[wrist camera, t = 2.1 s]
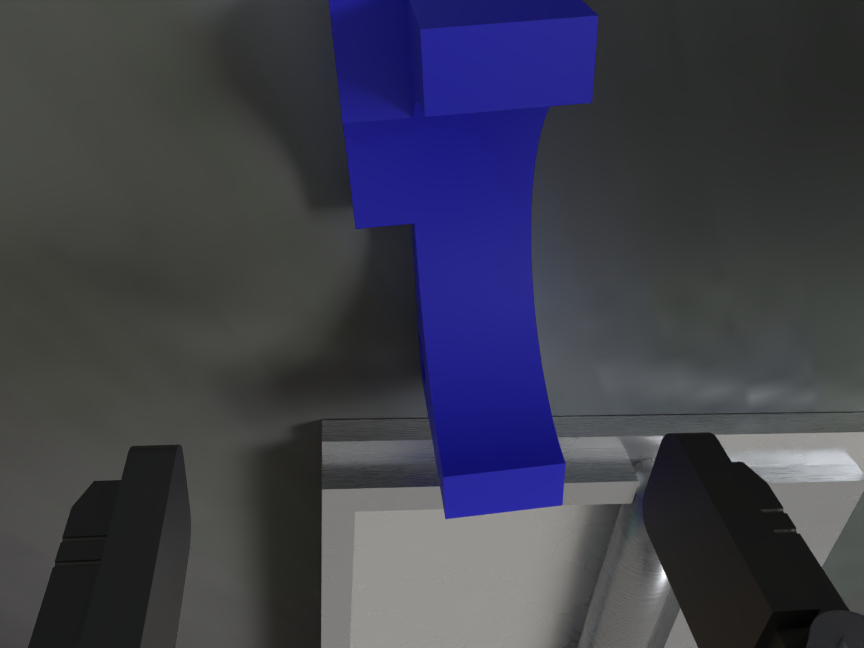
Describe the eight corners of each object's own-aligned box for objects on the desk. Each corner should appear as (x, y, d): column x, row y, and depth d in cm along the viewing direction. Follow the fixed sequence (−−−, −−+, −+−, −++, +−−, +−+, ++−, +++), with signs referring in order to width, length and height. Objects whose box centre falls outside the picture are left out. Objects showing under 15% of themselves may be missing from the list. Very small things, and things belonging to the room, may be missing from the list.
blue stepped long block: (326, -39, 18) (329, 36, 13) (524, -54, 18) (598, 15, 13) (373, 376, 25) (386, 526, 20) (515, 361, 25) (562, 505, 20)
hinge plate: (870, 412, 28) (930, 483, 25) (722, 698, 38) (754, 771, 36) (322, 419, 25) (322, 500, 23) (320, 725, 36) (320, 806, 33)
